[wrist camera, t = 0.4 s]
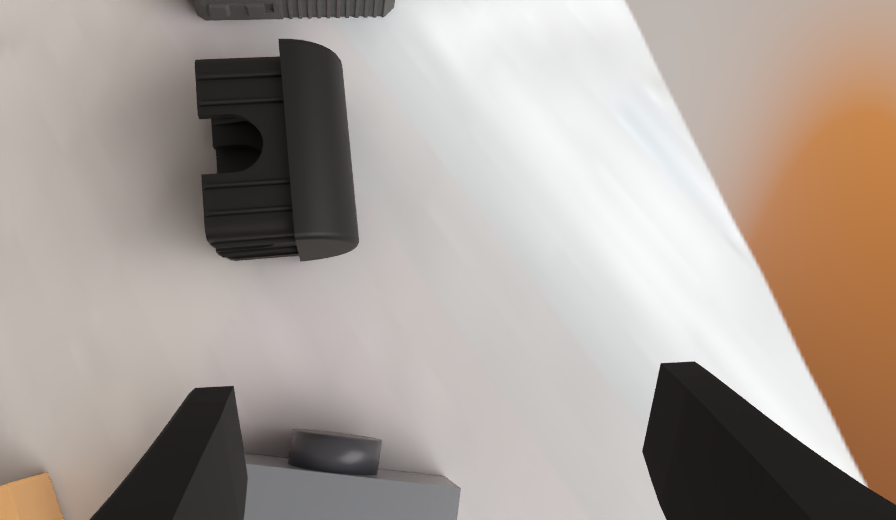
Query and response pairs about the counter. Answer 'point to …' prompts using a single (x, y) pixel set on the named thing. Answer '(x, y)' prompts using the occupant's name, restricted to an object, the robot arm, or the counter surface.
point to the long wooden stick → (29, 500)
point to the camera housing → (342, 483)
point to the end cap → (278, 155)
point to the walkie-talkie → (290, 8)
